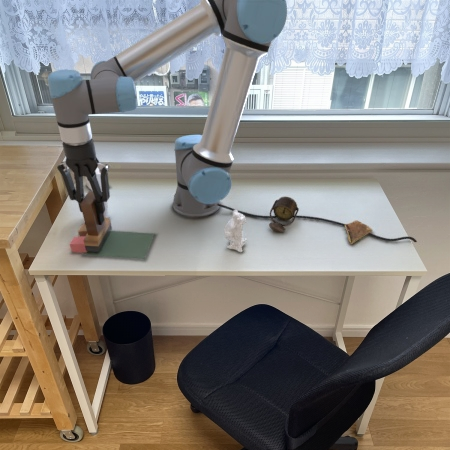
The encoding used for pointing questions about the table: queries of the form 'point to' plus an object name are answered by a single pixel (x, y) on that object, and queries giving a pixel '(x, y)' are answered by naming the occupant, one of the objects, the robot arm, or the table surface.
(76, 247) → the eraser block
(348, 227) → the shard
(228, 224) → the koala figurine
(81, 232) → the cork block
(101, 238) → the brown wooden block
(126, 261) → the table surface
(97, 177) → the white cube
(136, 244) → the desk mat
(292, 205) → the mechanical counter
